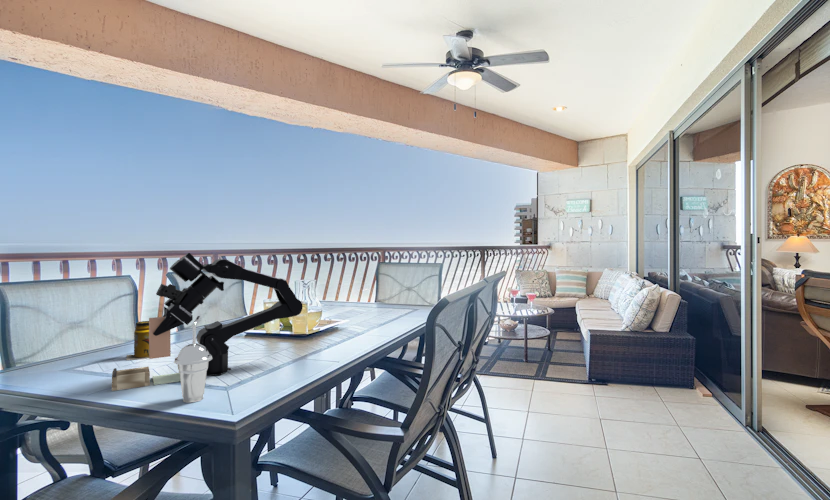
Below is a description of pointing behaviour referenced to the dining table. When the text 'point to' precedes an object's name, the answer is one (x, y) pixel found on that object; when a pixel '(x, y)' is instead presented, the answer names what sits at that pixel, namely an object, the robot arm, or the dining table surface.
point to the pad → (166, 378)
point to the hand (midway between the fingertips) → (154, 333)
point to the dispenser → (130, 378)
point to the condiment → (141, 341)
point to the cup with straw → (193, 369)
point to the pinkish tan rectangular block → (158, 340)
